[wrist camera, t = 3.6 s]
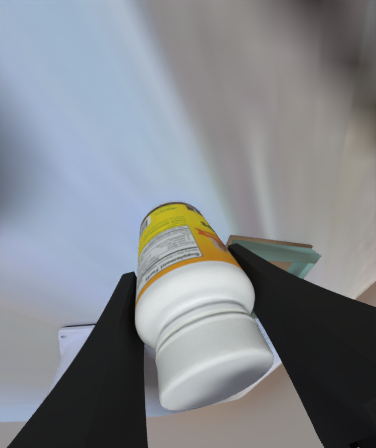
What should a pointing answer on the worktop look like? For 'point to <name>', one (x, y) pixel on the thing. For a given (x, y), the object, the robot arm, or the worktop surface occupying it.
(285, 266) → the teal picture frame
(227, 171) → the worktop surface
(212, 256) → the supplement bottle
